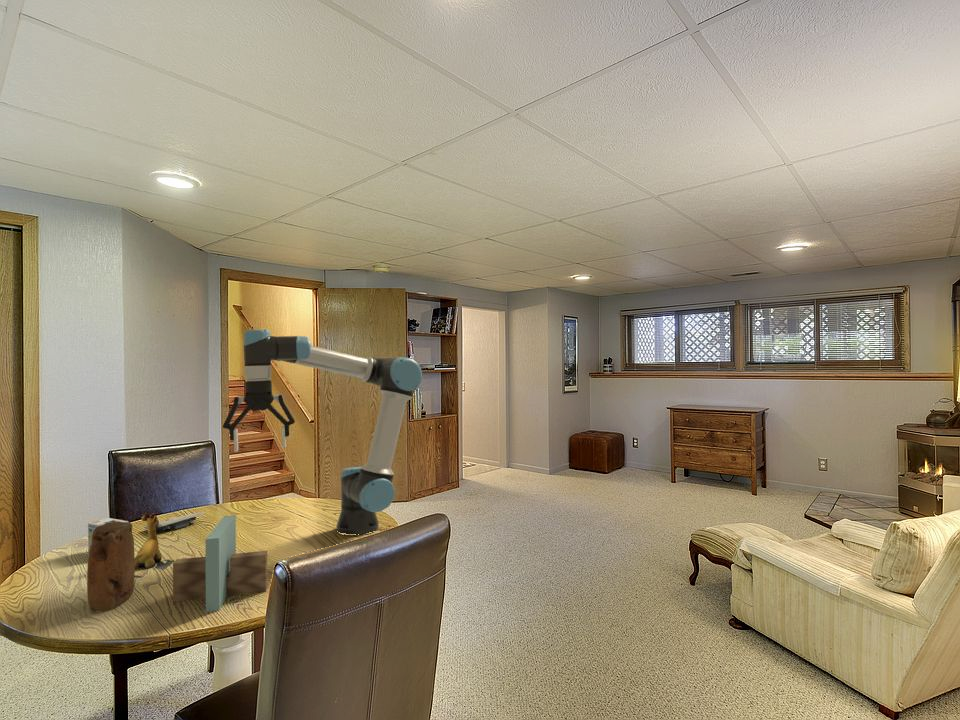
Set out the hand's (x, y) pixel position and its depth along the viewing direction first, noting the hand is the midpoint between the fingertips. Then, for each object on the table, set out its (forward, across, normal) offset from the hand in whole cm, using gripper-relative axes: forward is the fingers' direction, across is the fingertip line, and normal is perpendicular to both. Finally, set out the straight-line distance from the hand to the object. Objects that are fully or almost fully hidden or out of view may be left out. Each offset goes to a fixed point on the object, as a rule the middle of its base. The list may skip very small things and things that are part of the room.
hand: (260, 449), depth 157 cm
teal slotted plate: (+34, +8, +21) cm, 41 cm away
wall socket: (+35, +31, -44) cm, 64 cm away
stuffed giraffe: (+34, +35, -7) cm, 49 cm away
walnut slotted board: (+34, +8, +21) cm, 41 cm away
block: (+34, +34, +18) cm, 51 cm away
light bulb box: (+34, +49, -22) cm, 63 cm away
